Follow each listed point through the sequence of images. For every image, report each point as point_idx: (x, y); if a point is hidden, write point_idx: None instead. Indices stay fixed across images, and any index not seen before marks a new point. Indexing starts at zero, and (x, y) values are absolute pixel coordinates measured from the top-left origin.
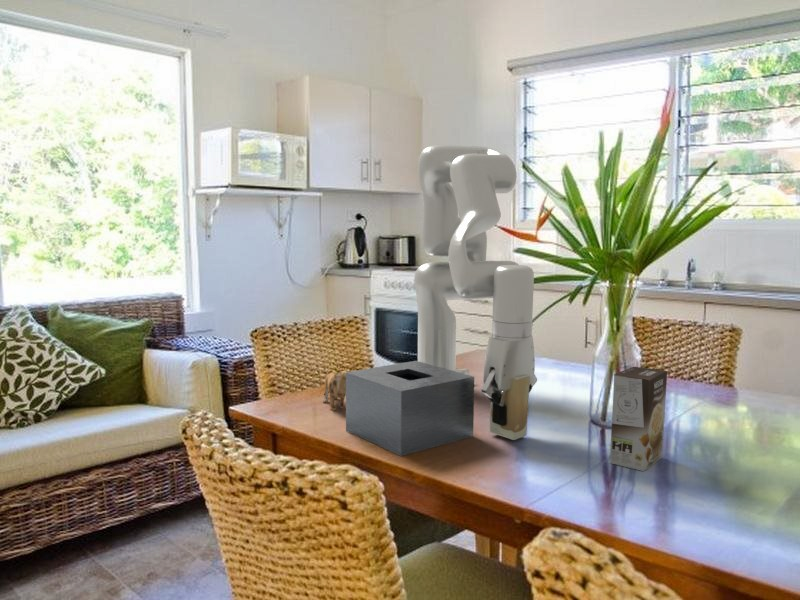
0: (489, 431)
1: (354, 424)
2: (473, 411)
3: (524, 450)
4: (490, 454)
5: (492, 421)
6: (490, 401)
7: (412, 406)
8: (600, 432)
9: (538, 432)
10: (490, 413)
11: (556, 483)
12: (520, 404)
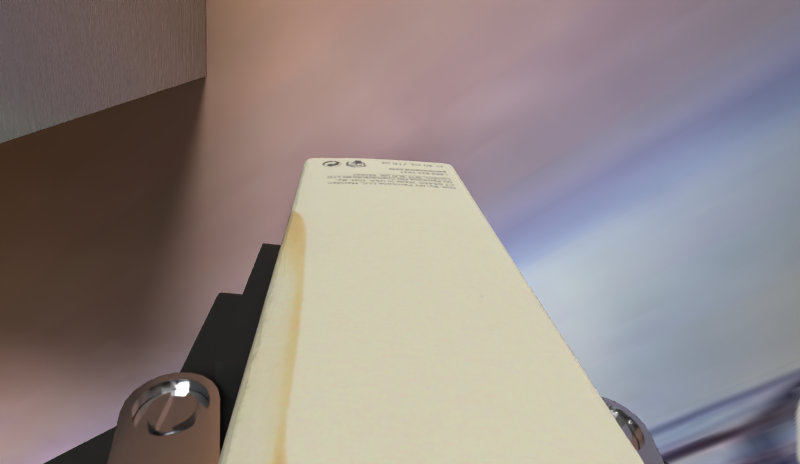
0: (306, 160)
1: None
2: (103, 107)
3: None
4: (67, 335)
5: (262, 245)
6: (135, 394)
7: None
8: (683, 447)
9: (551, 304)
10: (288, 222)
11: None
12: None
